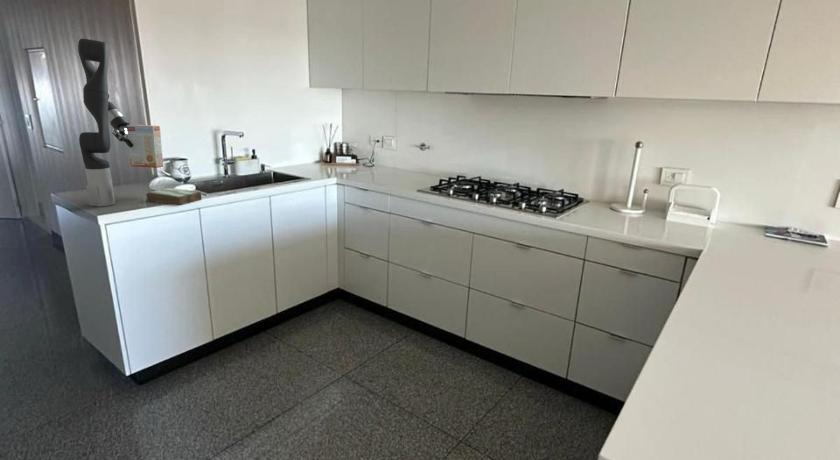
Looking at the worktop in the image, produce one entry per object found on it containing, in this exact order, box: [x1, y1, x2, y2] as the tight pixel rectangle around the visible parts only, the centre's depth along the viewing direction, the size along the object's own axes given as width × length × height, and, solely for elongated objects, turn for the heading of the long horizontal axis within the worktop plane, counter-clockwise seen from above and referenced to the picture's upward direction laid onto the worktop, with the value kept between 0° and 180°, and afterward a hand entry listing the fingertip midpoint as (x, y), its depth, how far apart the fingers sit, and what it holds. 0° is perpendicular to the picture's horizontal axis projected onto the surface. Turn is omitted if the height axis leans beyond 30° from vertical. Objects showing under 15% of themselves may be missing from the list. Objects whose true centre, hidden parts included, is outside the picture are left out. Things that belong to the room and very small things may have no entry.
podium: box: [146, 187, 202, 206], centre depth 227 cm, size 14×20×4 cm
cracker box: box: [127, 124, 164, 169], centre depth 230 cm, size 14×6×21 cm, turn 84°
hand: (138, 145), depth 230 cm, fingers closed on cracker box, 6 cm apart
